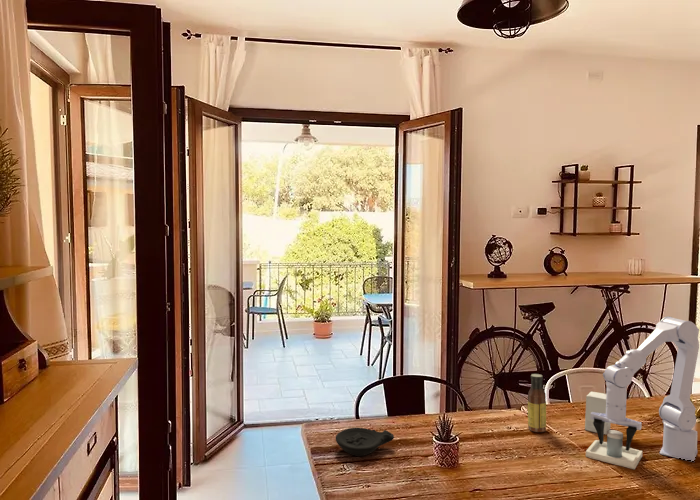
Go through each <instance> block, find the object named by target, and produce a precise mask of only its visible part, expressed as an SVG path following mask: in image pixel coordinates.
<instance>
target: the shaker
mask: <svg viewBox="0 0 700 500" xmlns="http://www.w3.org/2000/svg"><path fill="white" fill-rule="evenodd" d="M606 436H607V437H606V442H607V455H608V456H611V457H614V458H621V457H622V446H623V438H624V433H623V432H621V430H616V429H609V430H608V431H607V434H606Z"/></svg>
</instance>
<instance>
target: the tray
mask: <svg viewBox="0 0 700 500" xmlns="http://www.w3.org/2000/svg"><path fill="white" fill-rule="evenodd" d="M585 458H590V459H593V460H596V461H597V460H598V461H601V462H604V463H608V464H612V465H616V466H620V467H623V468H626V469H631V470H636V468H637V466H638V465H639V463H640V461H641V459H642V458H643V450H639V449H635V448H632V447H630V449H629V451H627V450H626V446H624V445H622V457H621V458H614V457H611V456H608V455H607V441H603V443H602V444H600V442H599V439H595V440H594V441H593V442H592V443H591V445H590V446H589V447H588V448H587V449H586V450H585Z"/></svg>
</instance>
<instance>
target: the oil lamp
mask: <svg viewBox="0 0 700 500" xmlns="http://www.w3.org/2000/svg"><path fill="white" fill-rule="evenodd" d="M394 438H395V436H394V434H393V433H391V432H390V431H388V430H386V429H385V430H383V431H376V430H375V429H368V428H365V427H364V428H363V427H350V428H346V429H343V430H341V431H340V432H338V433H337V434H336V436H335V441H336V444H337V445H338V446H339V447H340V448H341V449H342V450H343V451H344V452H345V453H347V454H349V455H353V456H357V457H362V456H367V455H369V454H372V453H374V451H376V450H377V449H378V448H380V446H383V445H385V444H388V443H389V442H392V441H393V440H394Z"/></svg>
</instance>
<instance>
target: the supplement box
mask: <svg viewBox="0 0 700 500" xmlns="http://www.w3.org/2000/svg"><path fill="white" fill-rule="evenodd" d="M585 397H586V399H585V413H584V414H585V415H584V416H585V419H584V420H585V421H584V430H585V431H588V432H592V433H597V431H596V429H595V427H594V425H593V422H594V420H592V419H590V415H591V413H592V412H596V413H604V414H606V393H603V392H596V391H590V392H589V393H588V394H586V396H585ZM611 425H612V423H609V422H605V423H604V435H606V436H607V431H608V430H611Z"/></svg>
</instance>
